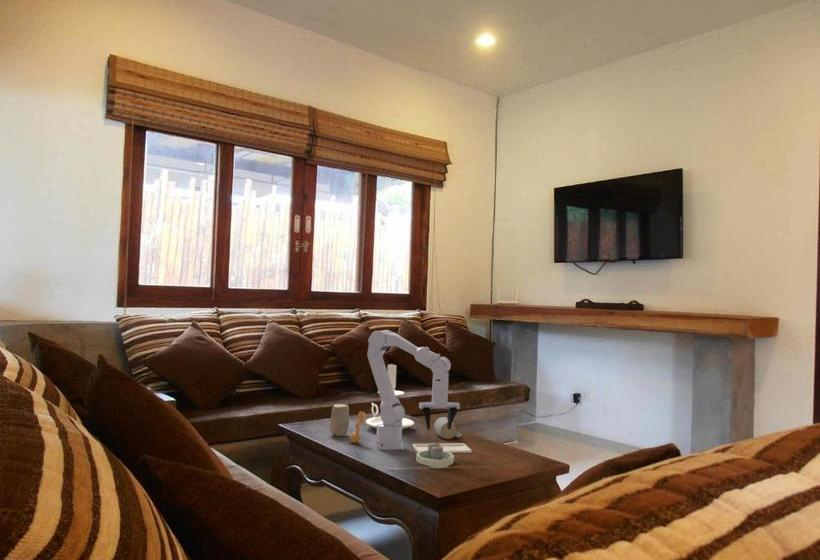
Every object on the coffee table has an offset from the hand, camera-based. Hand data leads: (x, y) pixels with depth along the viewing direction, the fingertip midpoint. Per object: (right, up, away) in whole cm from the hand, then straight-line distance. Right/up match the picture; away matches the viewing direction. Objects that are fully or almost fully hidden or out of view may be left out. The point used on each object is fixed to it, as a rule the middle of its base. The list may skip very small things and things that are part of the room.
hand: (438, 428), depth 207 cm
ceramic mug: (+5, -11, +25) cm, 28 cm away
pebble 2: (-1, -8, -12) cm, 15 cm away
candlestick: (-20, -10, +37) cm, 44 cm away
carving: (-39, -9, +23) cm, 46 cm away
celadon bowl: (-2, -9, -10) cm, 14 cm away
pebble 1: (-2, -9, -8) cm, 12 cm away
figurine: (-31, -9, +12) cm, 34 cm away
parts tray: (+1, -10, +5) cm, 11 cm away
